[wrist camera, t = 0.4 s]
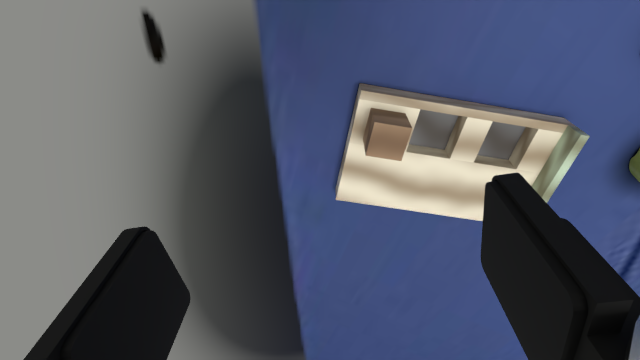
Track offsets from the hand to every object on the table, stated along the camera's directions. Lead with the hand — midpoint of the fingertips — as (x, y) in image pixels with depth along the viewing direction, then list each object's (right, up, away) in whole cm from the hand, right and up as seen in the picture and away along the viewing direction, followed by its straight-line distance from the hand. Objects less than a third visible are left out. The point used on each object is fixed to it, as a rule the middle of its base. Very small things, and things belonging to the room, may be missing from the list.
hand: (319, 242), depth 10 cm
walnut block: (+7, +8, +31) cm, 32 cm away
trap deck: (+16, +5, +35) cm, 39 cm away
